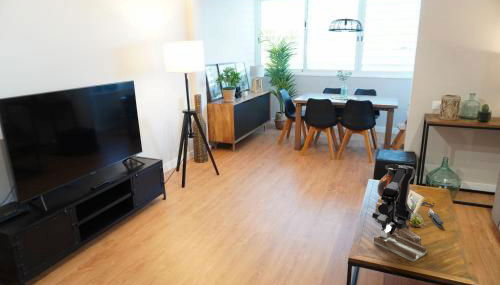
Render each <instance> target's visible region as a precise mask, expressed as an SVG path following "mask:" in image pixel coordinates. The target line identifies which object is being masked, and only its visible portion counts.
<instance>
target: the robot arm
mask: <svg viewBox="0 0 500 285" xmlns="http://www.w3.org/2000/svg"><path fill="white" fill-rule="evenodd" d="M401 166H402V167H401ZM415 175H416V168H414V166H410V165H406V164H405V165H404V164H403V165H400V166H399V167H398V171H397V173H396V175H395V177H394V178H393V180H392V182H391V183H390V184H388V185H387V186H386V187H385V188H384V190H383V194H382V197H381V200H383V202H382V204H381V205H380V206H379V207H378V211H377V212H375V211H374V212H373V213H372V215H371V218H372V219H375V220H377V223H378V224H380V225H381V229H383V228H385V227H386V226H388V225H390V227H391V232H390V235H392V234H393V232H394V231H395V232H396V229H398V230H399V229H403V228H407V229H408V228H409V227H410V225H409V224H408V221H410V220H411V219H412V213H411V211H410V206H409V204H408V201H409V200H408V199H409V196H408V193H409V194H410V185H411V180H412V179H413V178H414V177H415ZM400 185H401V191H400V198H399V203H398V204H397V205H396V201H397V200H398V197H399V186H400ZM384 196H386V197H384ZM387 197H388V198H387ZM390 223H391V224H390ZM387 224H388V225H387Z"/></svg>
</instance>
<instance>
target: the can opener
mask: <svg viewBox="0 0 500 285" xmlns="http://www.w3.org/2000/svg"><path fill="white" fill-rule="evenodd" d="M427 213H428V216H429V217H431V221H432V222H433V224H434V225H435V226H436V227H437V228H440V229H442V228H443V227H444V221H443V220H442V219H441V218H440V216H439V214H438V213H436V212H434V211H433V209H432V208H429V210H428V212H427Z"/></svg>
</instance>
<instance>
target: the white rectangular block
mask: <svg viewBox="0 0 500 285" xmlns="http://www.w3.org/2000/svg"><path fill="white" fill-rule="evenodd" d="M390 225H391V224H388V225H386V227H385V228H381V229H380V234H379V235H380V236H381V237H383V238H386V239H387V238H389V237H390V236H392V235H393V234H395V233H396V230H395V231H394V232H393V234H392V235H390V232H391V227H390Z"/></svg>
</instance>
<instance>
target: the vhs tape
mask: <svg viewBox="0 0 500 285" xmlns="http://www.w3.org/2000/svg"><path fill="white" fill-rule="evenodd" d="M427 202H428V201H423V203H422V205H421V206H424V207H427V208H431V207H433V208H434V205H430V204H428V203H427Z"/></svg>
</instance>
